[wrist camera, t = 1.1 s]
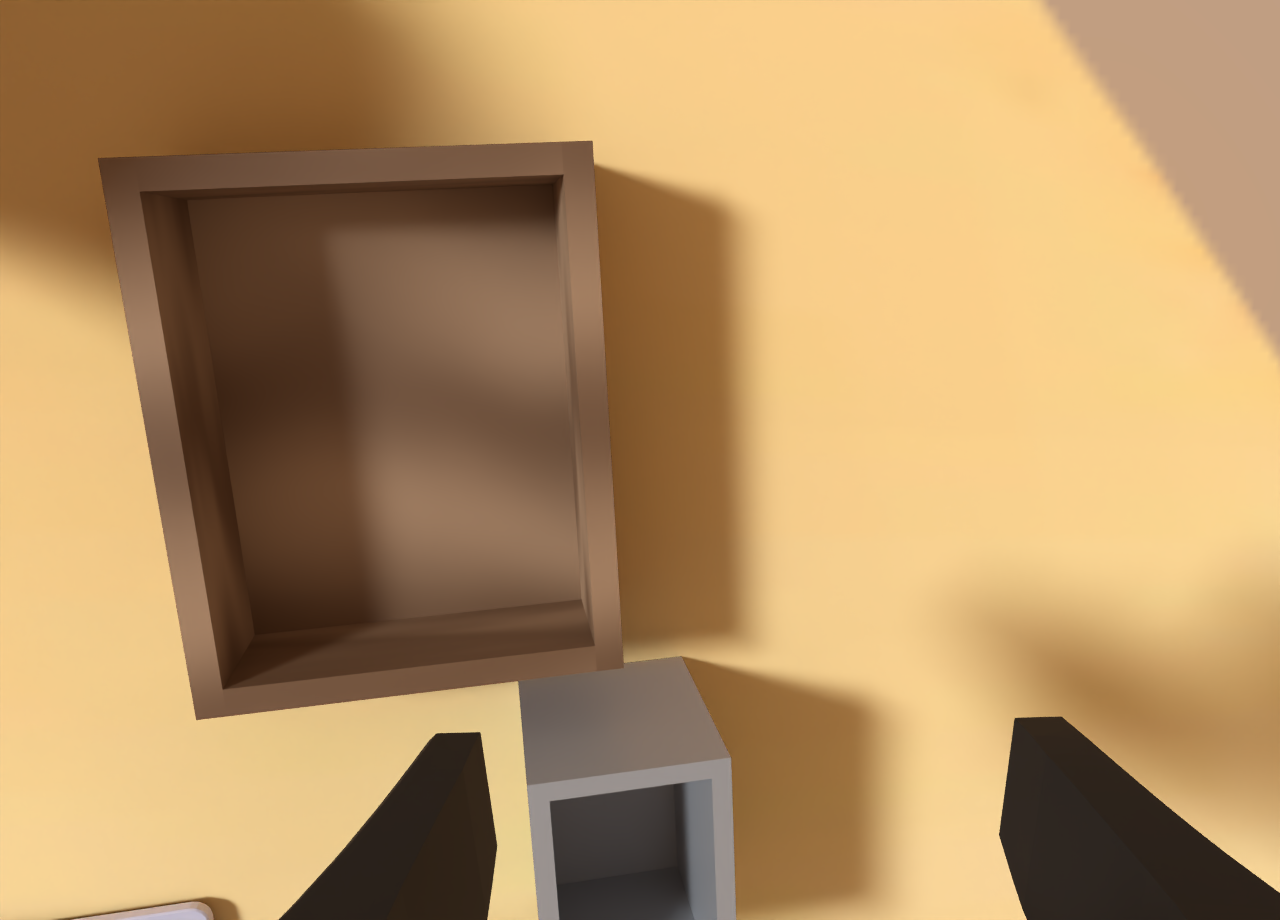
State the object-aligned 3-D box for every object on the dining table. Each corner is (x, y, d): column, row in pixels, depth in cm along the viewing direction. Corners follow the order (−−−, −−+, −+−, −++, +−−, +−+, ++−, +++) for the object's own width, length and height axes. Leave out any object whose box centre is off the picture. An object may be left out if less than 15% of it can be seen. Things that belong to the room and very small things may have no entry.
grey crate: (690, 867, 30) (739, 1012, 25) (536, 891, 30) (550, 1046, 24) (680, 655, 29) (731, 757, 23) (517, 674, 28) (526, 785, 22)
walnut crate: (603, 610, 28) (623, 668, 24) (238, 651, 26) (196, 720, 22) (575, 158, 25) (592, 140, 21) (161, 173, 23) (97, 158, 19)
